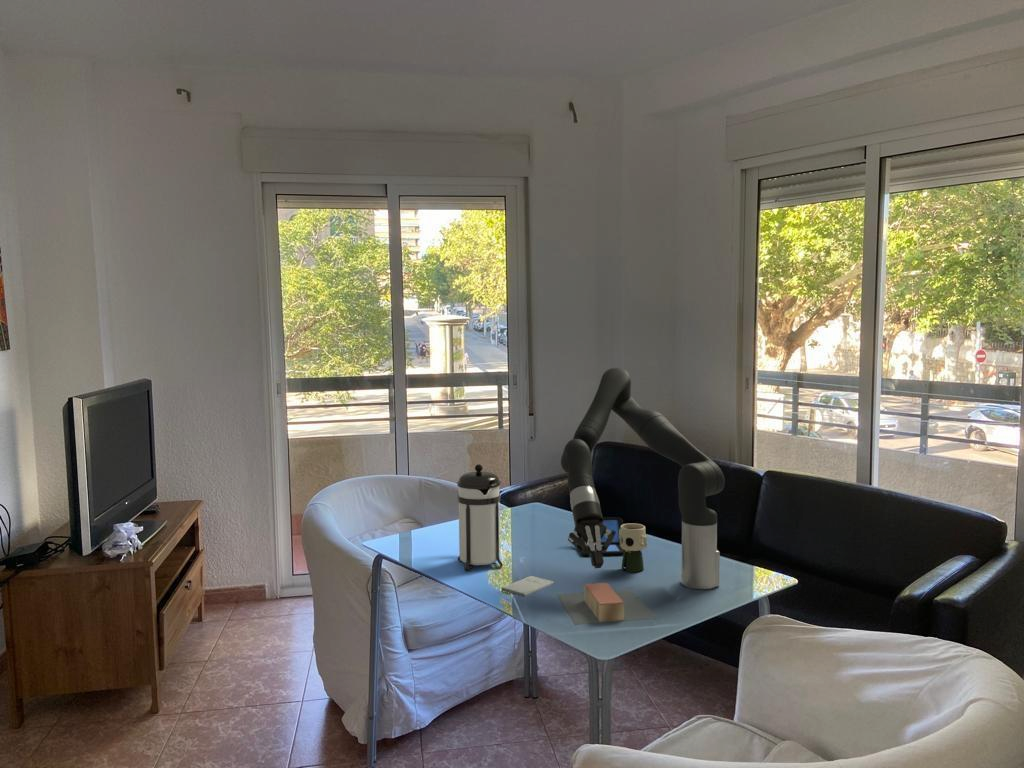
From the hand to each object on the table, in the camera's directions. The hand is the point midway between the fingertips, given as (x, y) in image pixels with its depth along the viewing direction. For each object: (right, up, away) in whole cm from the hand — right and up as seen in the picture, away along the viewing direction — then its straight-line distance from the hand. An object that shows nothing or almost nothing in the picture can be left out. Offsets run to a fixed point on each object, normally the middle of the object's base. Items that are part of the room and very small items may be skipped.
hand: (598, 566), depth 185 cm
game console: (+7, -7, +48) cm, 49 cm away
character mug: (+13, -8, +27) cm, 31 cm away
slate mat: (+1, -10, -1) cm, 10 cm away
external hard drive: (-17, -10, +14) cm, 24 cm away
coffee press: (-32, -8, +35) cm, 48 cm away
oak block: (0, -7, +3) cm, 8 cm away
